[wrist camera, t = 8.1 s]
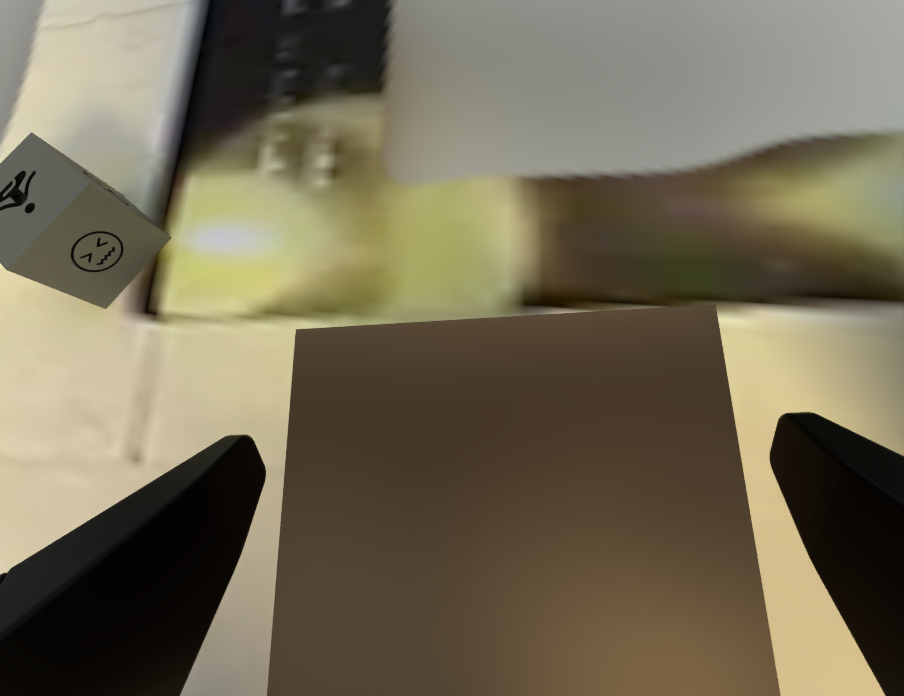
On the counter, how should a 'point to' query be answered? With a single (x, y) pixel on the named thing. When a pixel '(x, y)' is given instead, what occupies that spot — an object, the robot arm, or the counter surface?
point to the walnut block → (517, 512)
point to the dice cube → (70, 226)
